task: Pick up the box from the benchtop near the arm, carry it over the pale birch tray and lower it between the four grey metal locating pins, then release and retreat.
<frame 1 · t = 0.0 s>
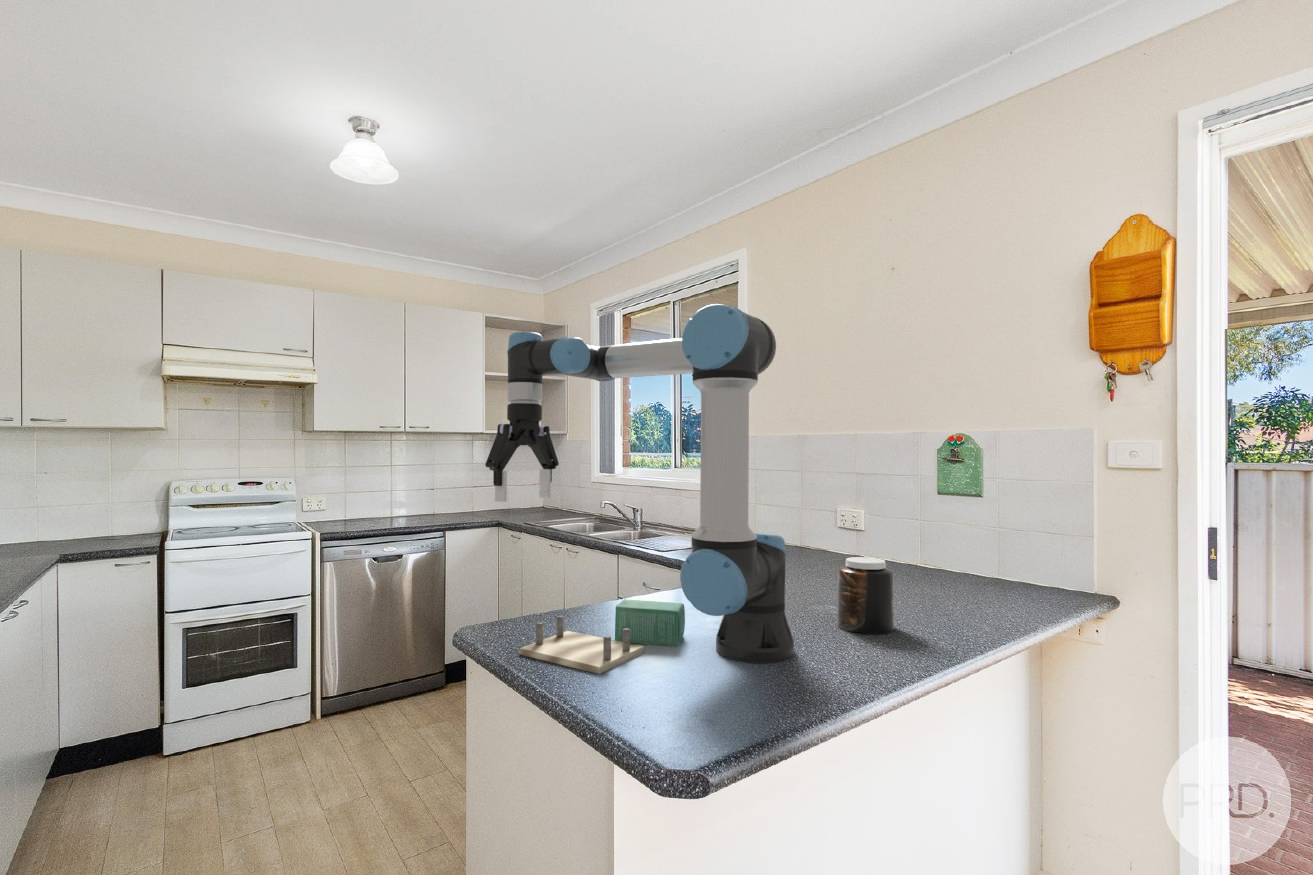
hand: (523, 499, 140), 28 cm above the countertop, fingers open, 13 cm apart
jar: (865, 628, 141), on the countertop
box: (650, 641, 131), on the countertop
tray: (582, 653, 122), on the countertop
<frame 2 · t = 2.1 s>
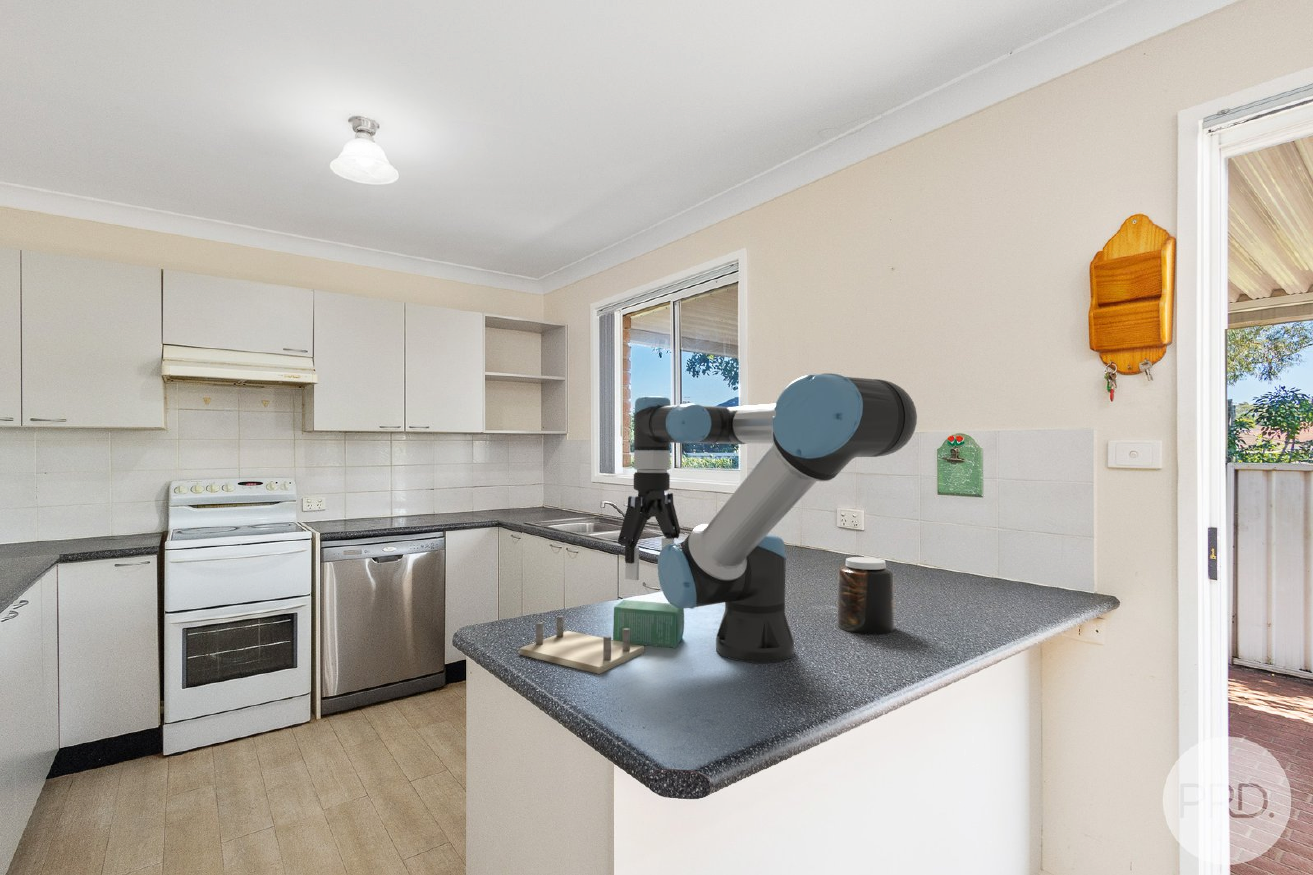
hand: (650, 573, 132), 13 cm above the countertop, fingers open, 13 cm apart
nothing on the countertop moved.
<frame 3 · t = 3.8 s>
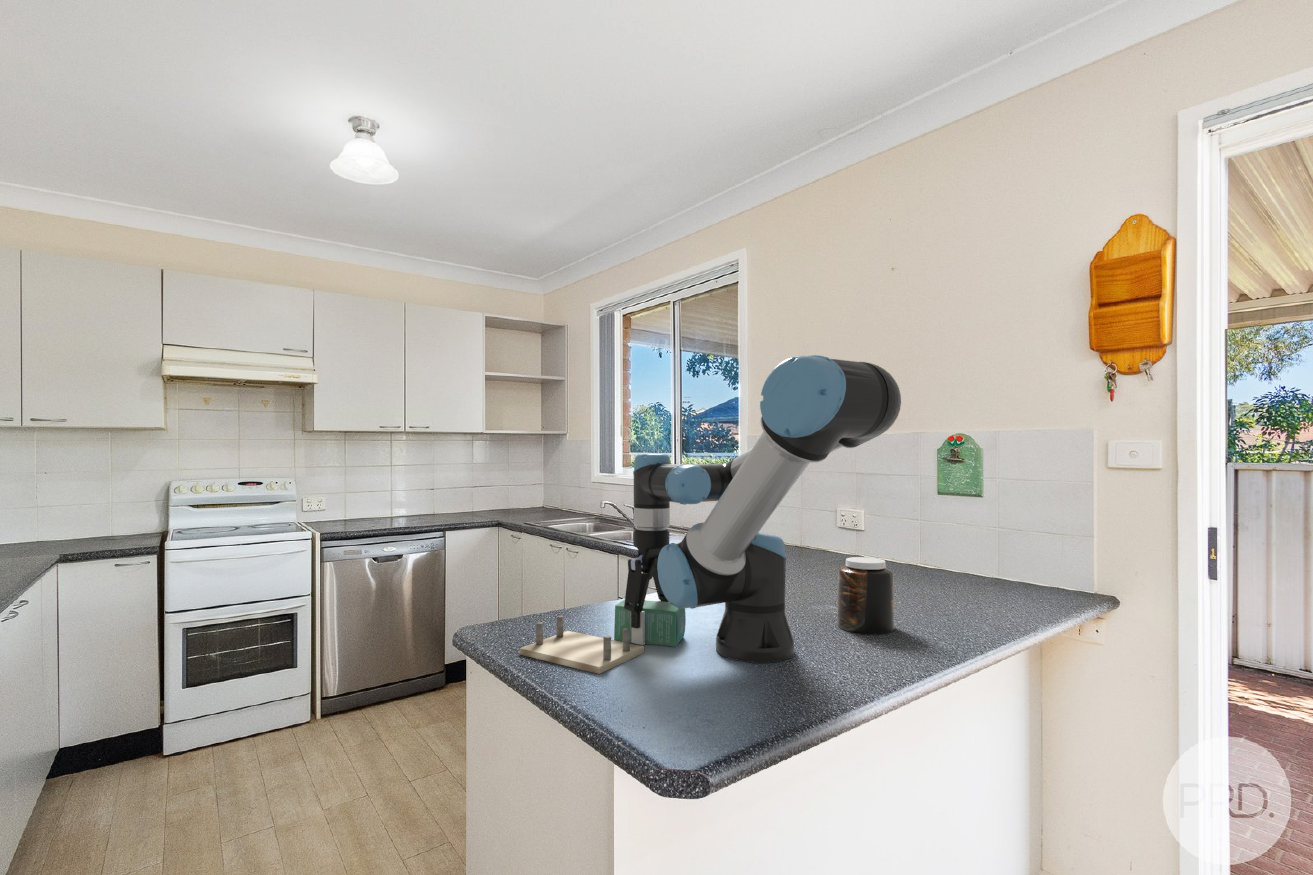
hand: (650, 637, 131), 0 cm above the countertop, fingers closed on box, 8 cm apart
box: (650, 640, 131), on the countertop, touching gripper
everything else where it was.
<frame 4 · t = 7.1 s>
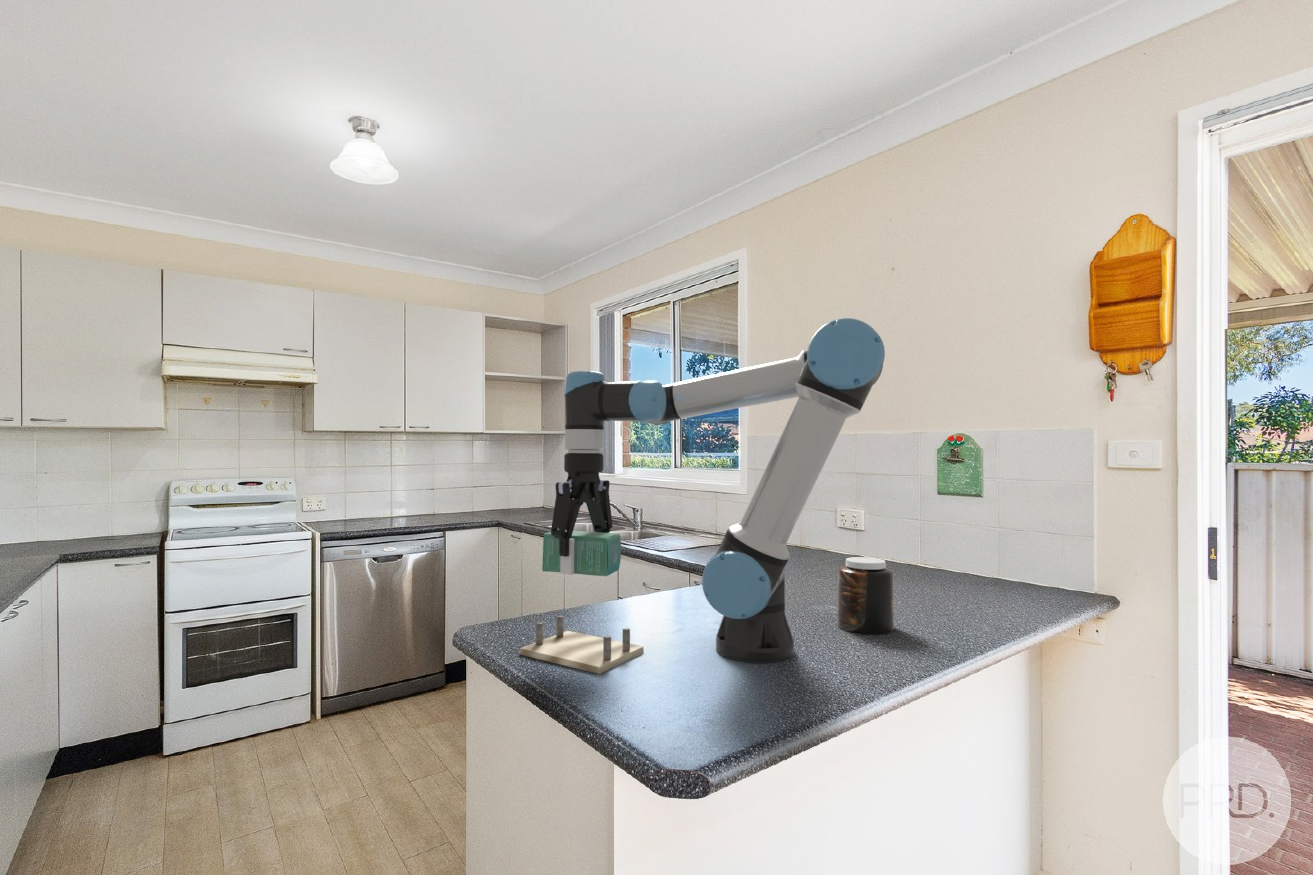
hand: (582, 569, 122), 16 cm above the countertop, fingers closed on box, 8 cm apart
box: (582, 572, 122), point 15 cm above the countertop, touching gripper
everything else where it was.
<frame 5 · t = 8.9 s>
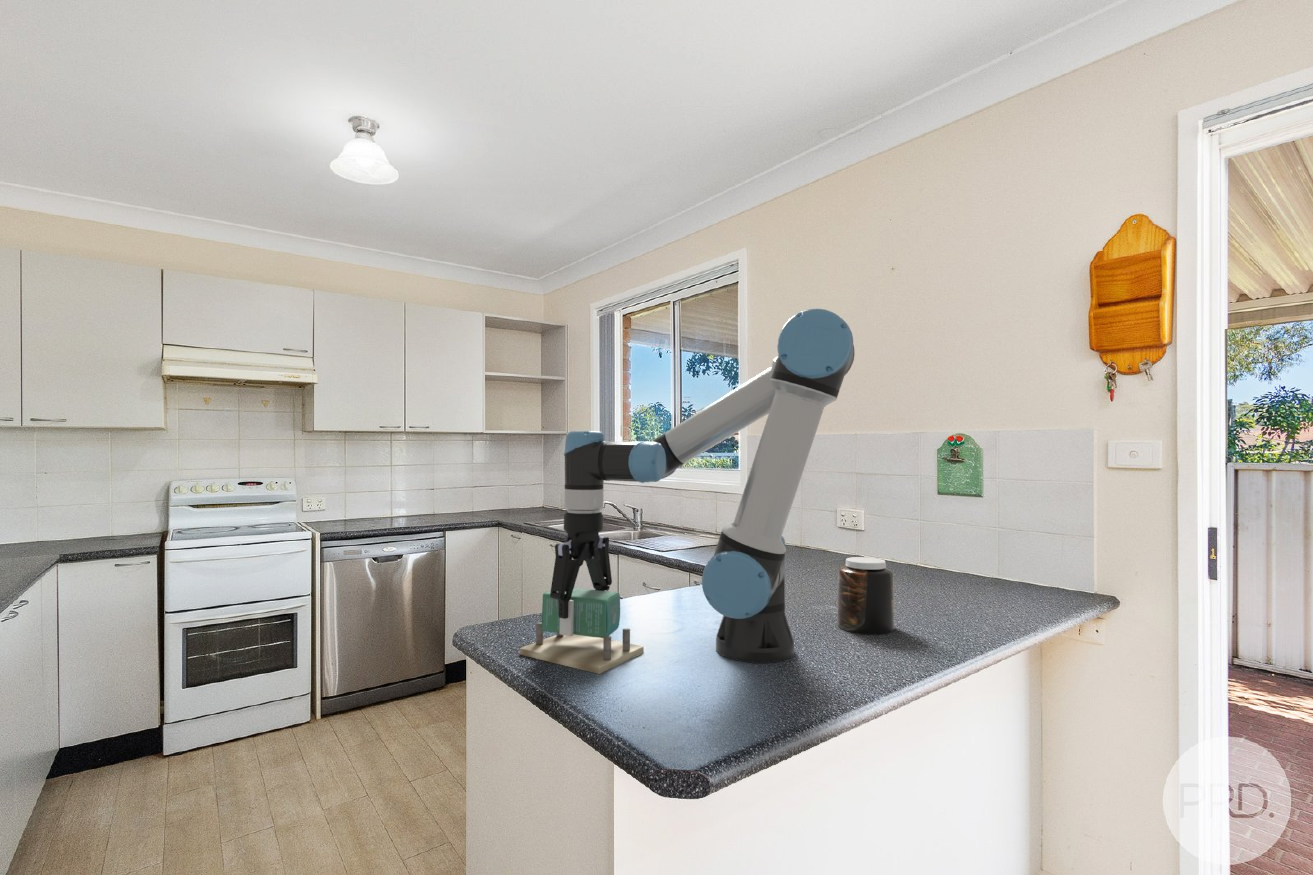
hand: (582, 629, 122), 5 cm above the countertop, fingers closed on box, 8 cm apart
box: (581, 632, 122), point 4 cm above the countertop, touching gripper
everything else where it was.
when the fingers open (4 cm above the countertop, at t = 10.0 s): box drops 2 cm, resting on tray.
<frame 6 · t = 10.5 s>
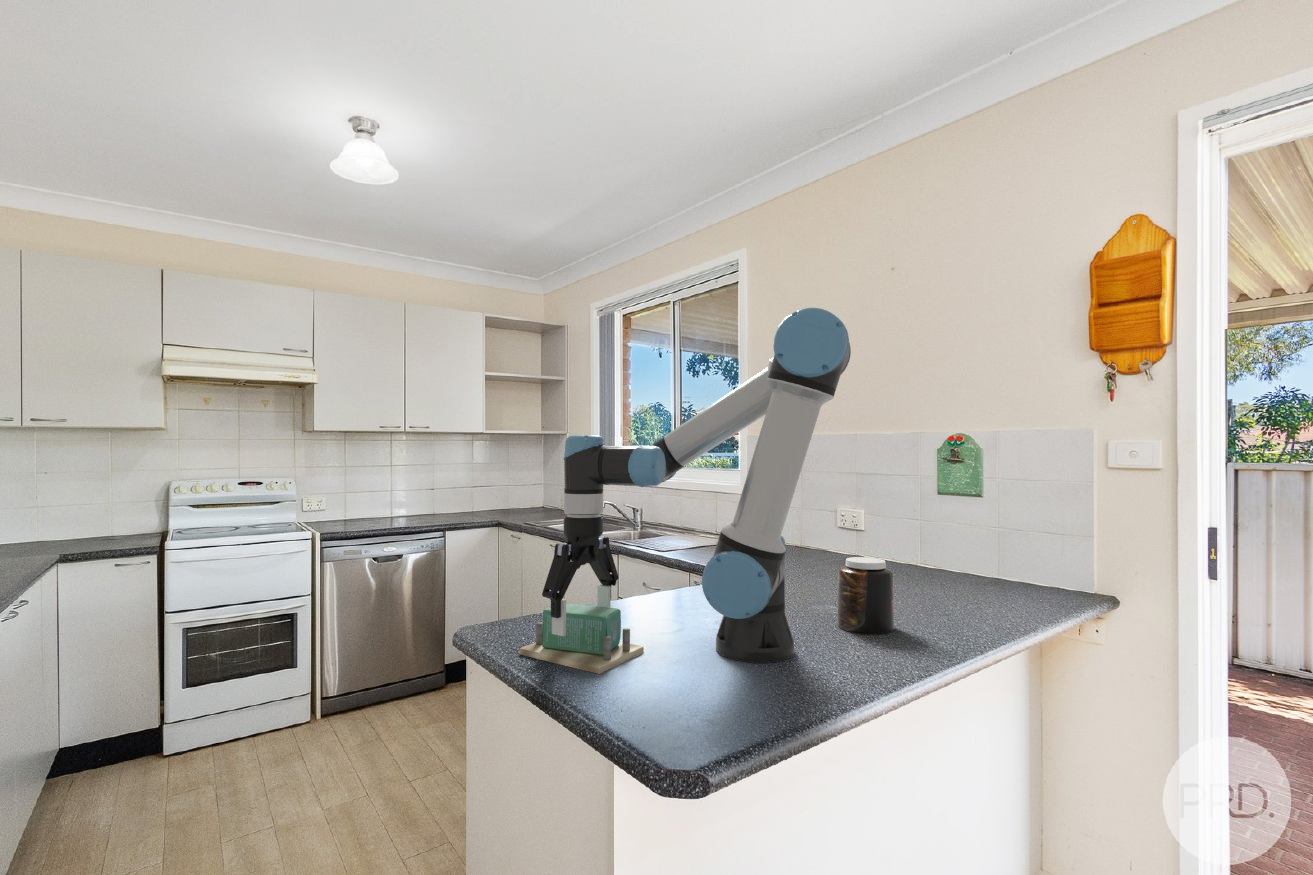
hand: (582, 626, 122), 5 cm above the countertop, fingers open, 13 cm apart
box: (582, 648, 122), point 1 cm above the countertop, touching tray
everything else where it was.
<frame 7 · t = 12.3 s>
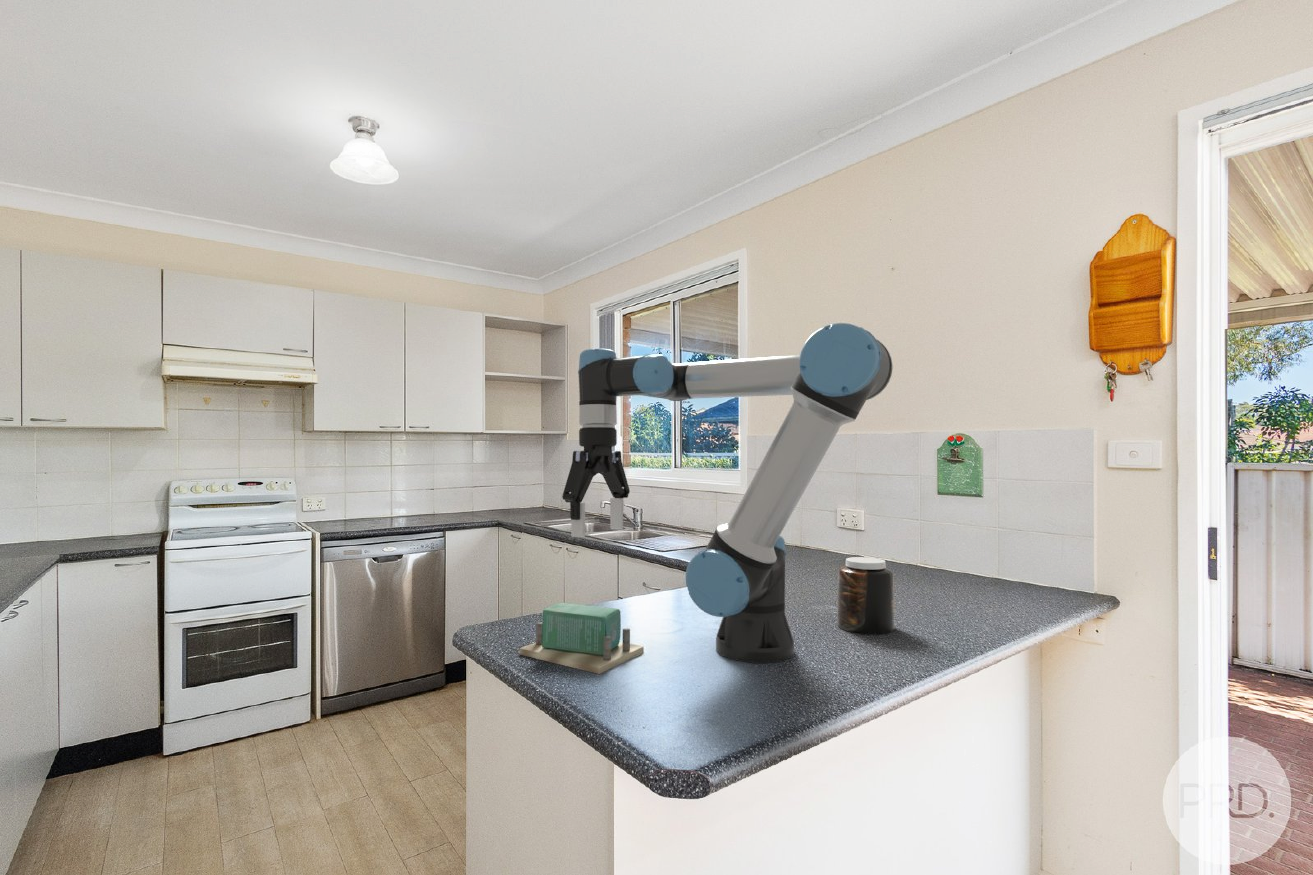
hand: (598, 533, 127), 22 cm above the countertop, fingers open, 13 cm apart
nothing on the countertop moved.
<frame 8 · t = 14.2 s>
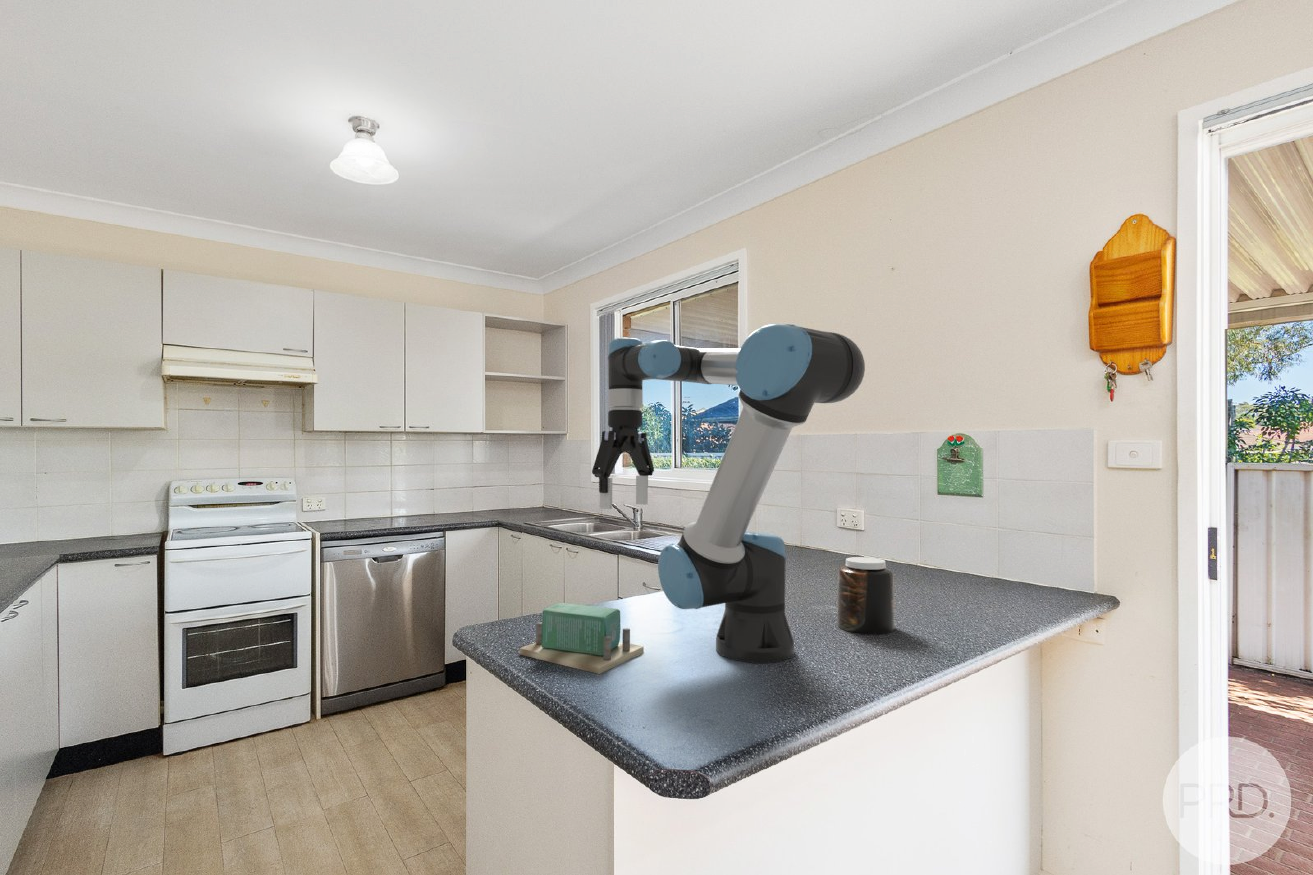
hand: (624, 506, 139), 27 cm above the countertop, fingers open, 13 cm apart
nothing on the countertop moved.
at the end: box 0.2 cm off-centre on the tray, point 1.0 cm above the tray's base; box tilted 0°; the gripper is holding nothing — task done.
